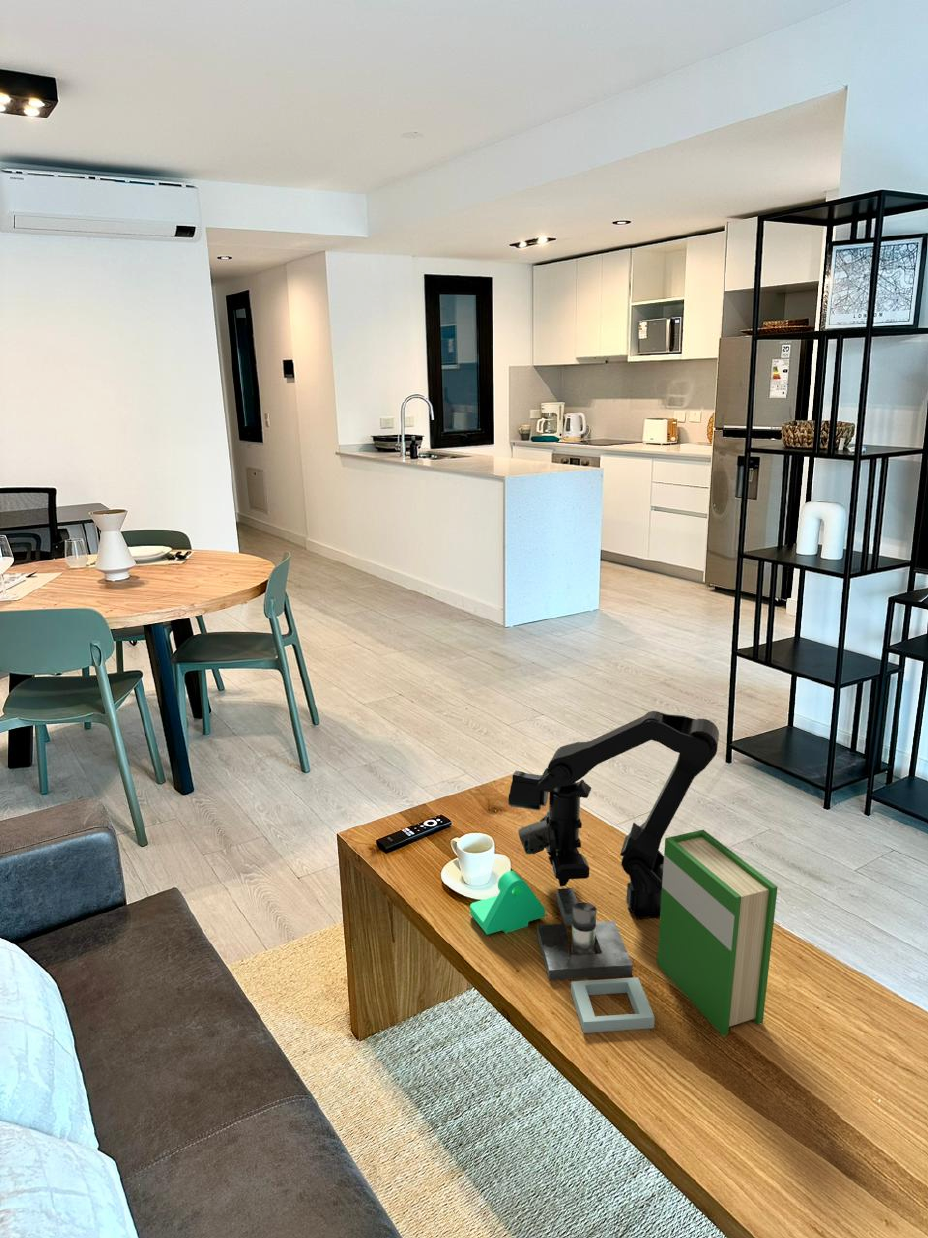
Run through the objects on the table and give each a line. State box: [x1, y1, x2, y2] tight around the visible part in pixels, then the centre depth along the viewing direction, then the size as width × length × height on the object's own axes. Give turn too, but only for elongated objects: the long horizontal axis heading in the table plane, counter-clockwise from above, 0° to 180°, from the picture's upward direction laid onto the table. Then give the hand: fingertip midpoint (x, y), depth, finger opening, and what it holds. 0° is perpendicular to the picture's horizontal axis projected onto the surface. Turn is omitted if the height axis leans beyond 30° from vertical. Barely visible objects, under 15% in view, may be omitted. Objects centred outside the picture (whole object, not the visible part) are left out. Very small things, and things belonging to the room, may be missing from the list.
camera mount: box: [469, 870, 546, 935], centre depth 154 cm, size 12×8×10 cm, turn 116°
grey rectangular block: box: [556, 887, 579, 927], centre depth 157 cm, size 3×8×2 cm, turn 5°
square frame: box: [570, 976, 656, 1034], centre depth 132 cm, size 11×9×2 cm
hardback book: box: [656, 829, 778, 1037], centre depth 133 cm, size 18×7×24 cm, turn 21°
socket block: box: [536, 920, 634, 981], centre depth 145 cm, size 14×12×2 cm
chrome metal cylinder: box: [570, 901, 598, 956], centre depth 144 cm, size 4×4×9 cm
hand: (562, 885), depth 163 cm, fingers closed
